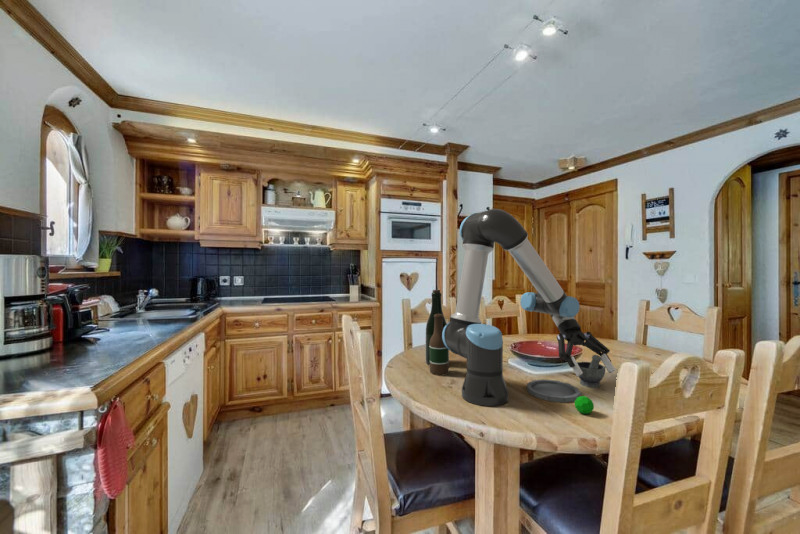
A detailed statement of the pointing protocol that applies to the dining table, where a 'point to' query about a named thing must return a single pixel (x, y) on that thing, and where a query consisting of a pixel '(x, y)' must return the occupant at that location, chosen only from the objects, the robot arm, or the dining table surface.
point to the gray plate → (553, 390)
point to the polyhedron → (584, 404)
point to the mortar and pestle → (591, 372)
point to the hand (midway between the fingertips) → (596, 373)
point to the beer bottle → (438, 349)
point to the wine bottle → (435, 309)
